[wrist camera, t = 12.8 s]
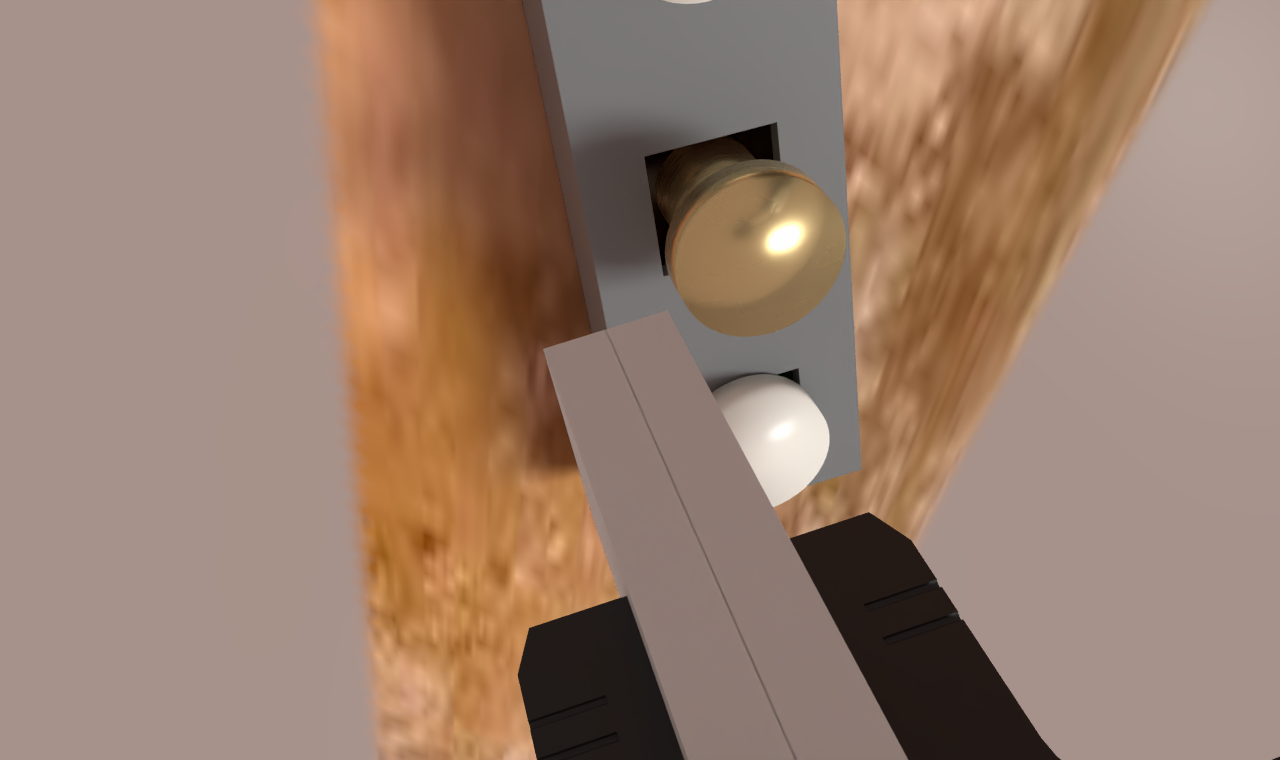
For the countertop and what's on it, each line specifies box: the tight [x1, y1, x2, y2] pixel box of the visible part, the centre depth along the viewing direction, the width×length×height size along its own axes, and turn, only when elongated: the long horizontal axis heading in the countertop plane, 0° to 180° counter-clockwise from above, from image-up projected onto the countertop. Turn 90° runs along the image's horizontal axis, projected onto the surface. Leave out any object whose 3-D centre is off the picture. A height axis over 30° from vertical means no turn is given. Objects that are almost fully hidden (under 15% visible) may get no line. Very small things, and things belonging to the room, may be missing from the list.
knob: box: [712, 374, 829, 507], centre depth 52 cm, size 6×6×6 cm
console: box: [522, 0, 861, 486], centre depth 46 cm, size 10×30×5 cm, turn 10°
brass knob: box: [655, 136, 846, 337], centre depth 43 cm, size 6×6×6 cm
